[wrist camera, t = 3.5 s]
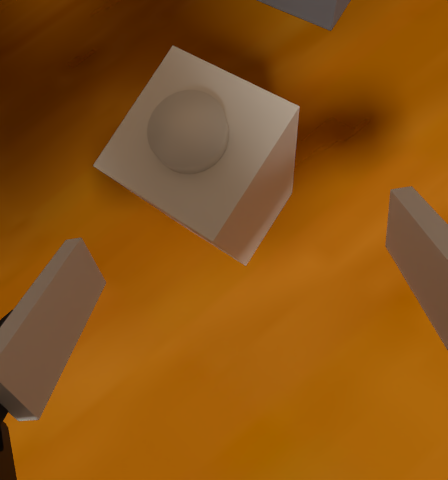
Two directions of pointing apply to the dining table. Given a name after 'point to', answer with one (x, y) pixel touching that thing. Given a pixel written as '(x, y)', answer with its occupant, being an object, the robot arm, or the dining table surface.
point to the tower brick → (207, 152)
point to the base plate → (312, 10)
